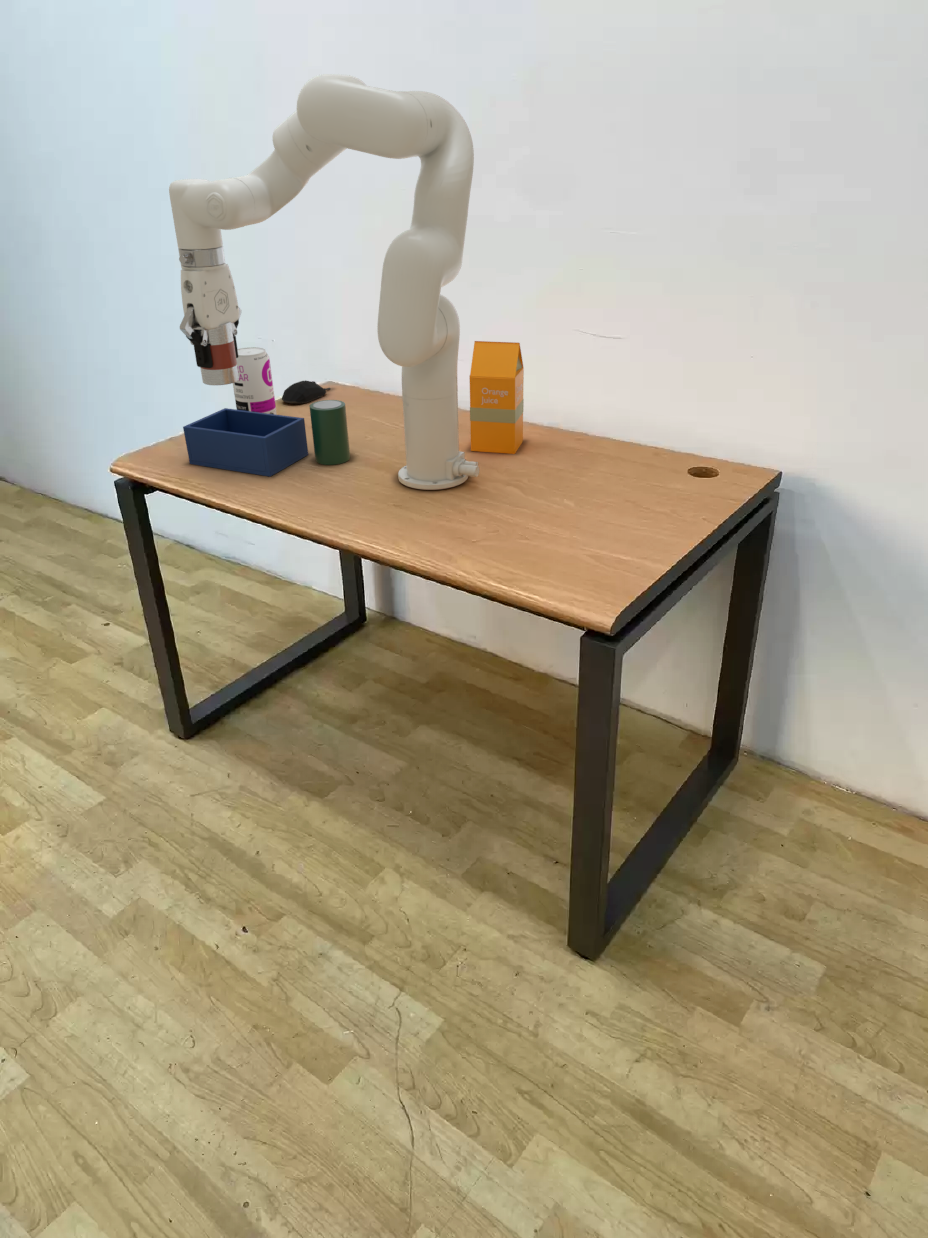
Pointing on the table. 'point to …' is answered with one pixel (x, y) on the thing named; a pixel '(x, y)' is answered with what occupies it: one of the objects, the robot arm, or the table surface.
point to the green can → (330, 432)
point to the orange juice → (496, 397)
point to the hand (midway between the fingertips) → (218, 361)
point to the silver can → (221, 357)
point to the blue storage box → (246, 441)
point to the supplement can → (254, 382)
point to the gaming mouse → (303, 392)
